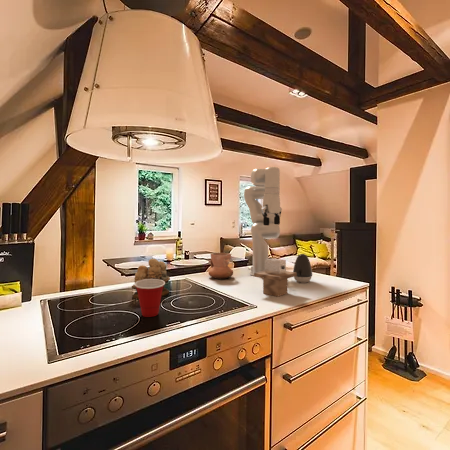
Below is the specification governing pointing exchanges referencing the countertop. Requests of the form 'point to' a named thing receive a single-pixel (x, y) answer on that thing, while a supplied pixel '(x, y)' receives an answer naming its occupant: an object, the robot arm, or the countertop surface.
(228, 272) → the ceramic jug
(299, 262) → the dark egg shaped dome
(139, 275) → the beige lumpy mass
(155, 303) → the plastic cup
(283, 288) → the walnut stand
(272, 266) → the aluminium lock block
